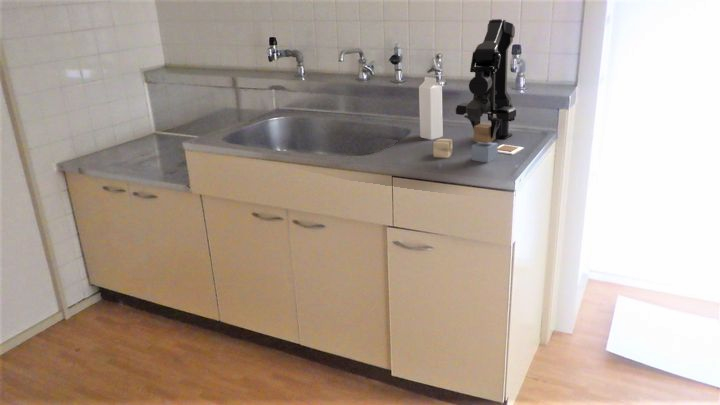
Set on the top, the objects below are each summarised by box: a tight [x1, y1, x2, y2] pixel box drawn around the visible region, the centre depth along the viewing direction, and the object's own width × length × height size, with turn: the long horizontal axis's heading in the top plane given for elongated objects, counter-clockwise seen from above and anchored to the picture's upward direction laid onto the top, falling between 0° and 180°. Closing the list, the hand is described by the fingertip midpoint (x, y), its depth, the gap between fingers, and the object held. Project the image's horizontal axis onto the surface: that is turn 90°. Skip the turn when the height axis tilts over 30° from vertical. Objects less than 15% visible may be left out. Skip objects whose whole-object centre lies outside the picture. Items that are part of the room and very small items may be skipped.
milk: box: [418, 76, 444, 141], centre depth 219 cm, size 6×6×22 cm
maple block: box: [432, 138, 453, 159], centre depth 201 cm, size 5×5×5 cm
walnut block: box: [473, 122, 497, 143], centre depth 192 cm, size 5×5×5 cm
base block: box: [471, 141, 499, 163], centre depth 194 cm, size 6×6×5 cm
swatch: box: [498, 144, 525, 156], centre depth 202 cm, size 8×8×1 cm
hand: (484, 137), depth 193 cm, fingers closed on walnut block, 5 cm apart
